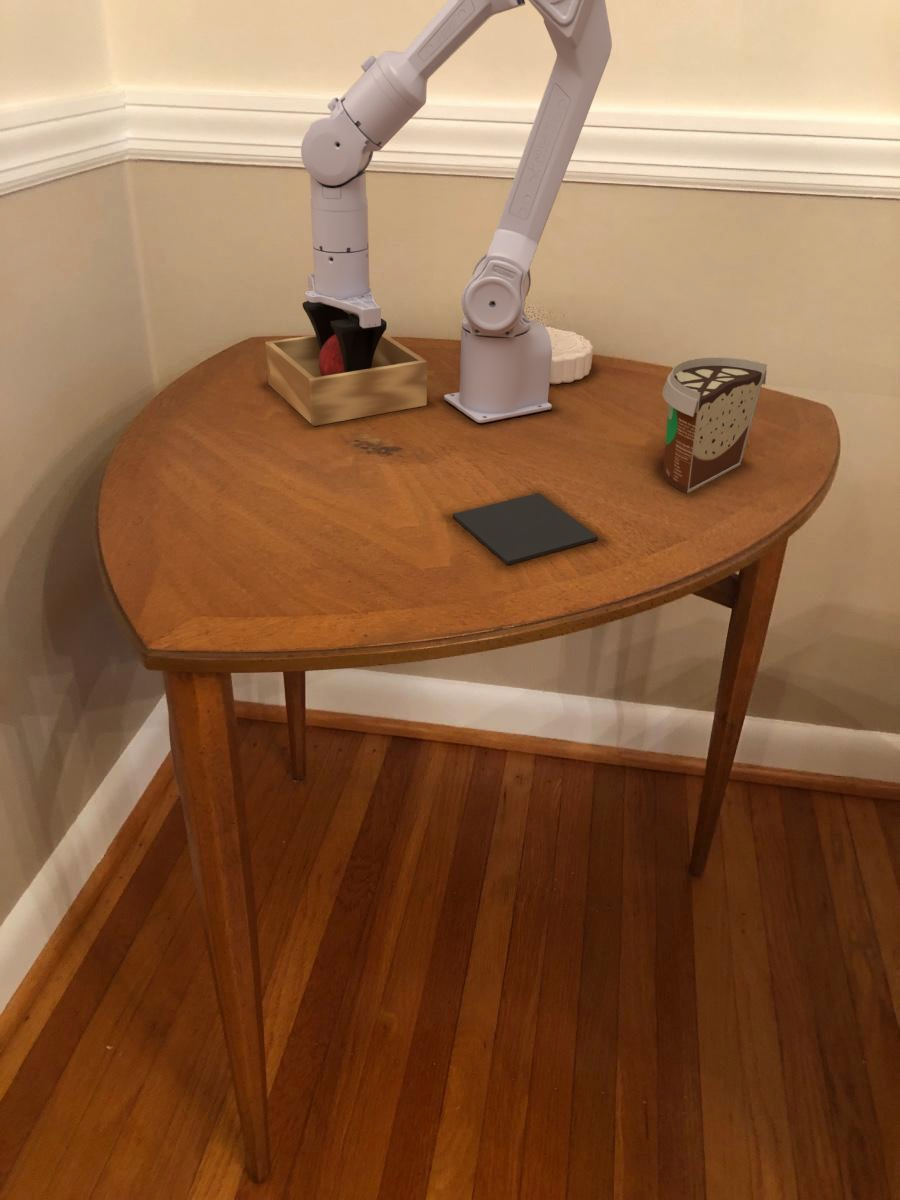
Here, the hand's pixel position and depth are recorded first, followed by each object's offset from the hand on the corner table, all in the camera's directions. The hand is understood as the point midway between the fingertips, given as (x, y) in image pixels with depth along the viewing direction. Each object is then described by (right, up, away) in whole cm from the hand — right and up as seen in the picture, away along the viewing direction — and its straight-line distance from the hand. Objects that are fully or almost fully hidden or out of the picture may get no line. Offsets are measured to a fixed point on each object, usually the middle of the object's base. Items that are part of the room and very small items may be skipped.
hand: (345, 374), depth 104 cm
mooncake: (+23, +3, +11) cm, 25 cm away
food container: (+35, -12, -12) cm, 39 cm away
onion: (0, -2, +1) cm, 3 cm away
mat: (+18, -19, -23) cm, 35 cm away
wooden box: (0, -2, +1) cm, 2 cm away
